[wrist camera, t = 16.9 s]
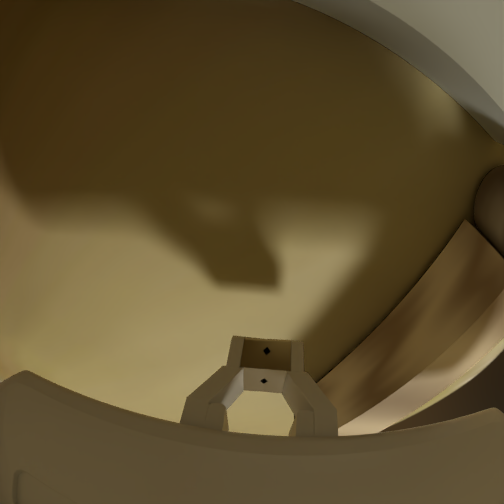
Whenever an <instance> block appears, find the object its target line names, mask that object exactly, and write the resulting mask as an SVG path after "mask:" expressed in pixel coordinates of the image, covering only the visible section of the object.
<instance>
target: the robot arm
mask: <svg viewBox="0 0 504 504" xmlns="http://www.w3.org/2000/svg"><path fill="white" fill-rule="evenodd" d="M243 390H248V391H263V392H274V393H282V395H283V396H284V398H285V400H286V402H287V403H288V405H289V407H290V408H291V410H292V412H293V413H294V415H295V419H294V421H293V424H292V426H291V429H290V431H289V436H272V435H258V434H247V433H238V432H229V426H228V419H227V411H226V410H227V409H228V408H229V407H230V406H231V405H232V404H233V403H234V401H235V400H236V399H237V398H238V397H239V396H240V395H241V393H242V392H243ZM0 504H504V414H503V413H502V412H501V411H500V410H498V409H497V408H490V409H487V410H483V411H480V412H477V413H474V414H471V415H467V416H464V417H460V418H456V419H452V420H448V421H444V422H440V423H435V424H431V425H426V426H421V427H415V428H410V429H404V430H397V431H390V432H382V433H373V434H362V435H348V436H338V421H337V409H336V408H335V407H334V406H333V404H332V403H331V402H330V400H329V399H328V398H327V397H326V395H325V394H324V393H323V392H322V390H321V389H320V388H319V386H318V385H317V384H316V383H315V381H314V380H313V379H312V377H311V376H310V375H309V374H308V372H304V347H303V341H294V340H279V339H260V338H251V337H242V336H233V337H232V340H231V345H230V350H229V355H228V360H227V365H226V366H222V367H221V368H220V369H219V370H218V371H216V372H215V373H214V374H213V375H212V376H211V377H210V378H209V379H207V380H206V381H205V382H204V383H203V384H202V385H201V386H199V387H198V388H197V389H196V390H195V391H194V392H193V393H191V394H190V395H189V396H188V397H187V399H186V402H185V406H184V409H183V413H182V417H181V420H180V423H176V422H172V421H167V420H163V419H159V418H155V417H151V416H147V415H143V414H139V413H136V412H132V411H129V410H126V409H122V408H119V407H116V406H113V405H110V404H107V403H104V402H101V401H98V400H95V399H93V398H90V397H87V396H85V395H82V394H79V393H77V392H74V391H72V390H69V389H67V388H65V387H62V386H60V385H58V384H56V383H53V382H51V381H49V380H47V379H45V378H43V377H41V376H39V375H37V374H35V373H33V372H30V371H27V370H24V371H21V372H19V373H17V374H15V375H13V376H11V377H9V378H7V379H6V380H4V381H3V382H1V384H0Z"/></svg>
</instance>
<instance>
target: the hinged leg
mask: <svg viewBox="0 0 504 504" xmlns="http://www.w3.org/2000/svg"><path fill="white" fill-rule="evenodd" d="M474 219H475V223H476V226H477V228H478V230H479V231H480V232H481V233H480V232H479V231H478V230H477V229H476V228H475V227H474V226H473V225H471V224H470V223H469V222H468V221H467V220H466V219H465V220H464V221H463V223H462V224H461V226H460V227H459V228H458V230H457V231H456V233H455V234H454V236H453V237H452V238H451V240H450V241H449V243H448V244H447V245H446V247H445V248H444V249H443V251H442V252H441V253H440V255H439V256H438V257H437V259H436V260H435V261H434V263H433V264H432V265H431V266H430V268H429V269H428V270H427V271H426V273H425V274H424V275H423V276H422V278H421V279H420V280H419V281H418V282H417V284H416V285H415V286H414V287H413V288H412V290H411V291H410V292H409V293H408V294H407V295H406V297H405V298H404V299H403V300H402V301H401V302H400V303H399V304H398V306H397V307H396V308H395V309H394V310H393V311H392V312H391V313H390V314H389V315H388V316H387V317H386V319H385V320H384V321H383V322H382V323H381V324H380V325H379V326H378V327H377V328H376V329H375V330H374V331H373V332H372V333H371V334H370V335H369V336H368V337H367V338H366V339H365V340H364V341H363V342H362V343H361V344H360V345H359V346H358V347H357V348H356V349H355V350H354V351H352V352H351V353H350V354H349V355H348V356H347V357H346V358H345V359H344V360H343V361H342V362H341V363H339V364H338V365H337V366H336V367H335V368H334V369H333V370H332V371H330V372H329V373H328V374H327V375H326V376H325V377H324V378H322V379H321V380H320V381H319V382H318V383H316V384H317V385H318V386H319V388H320V389H321V390H322V392H323V393H324V394H325V395H326V397H327V398H328V399H329V400H330V402H331V403H332V404H333V406H334V407H335V408H336V409H337V421H338V436H348V435H362V434H373V433H378V432H380V431H382V430H383V429H385V428H387V427H389V426H390V425H392V424H394V423H396V422H397V421H399V420H400V419H402V418H404V417H405V416H407V415H409V414H410V413H412V412H413V411H415V410H416V409H418V408H419V407H421V406H422V405H424V404H425V403H427V402H428V401H430V400H431V399H432V398H434V397H435V396H437V395H438V394H439V393H441V392H442V391H443V390H445V389H446V388H447V387H449V386H450V385H451V384H452V383H454V382H455V381H456V380H457V379H459V378H460V377H461V376H462V375H464V374H465V373H466V372H467V371H468V370H470V369H471V368H472V367H473V366H474V365H475V364H476V363H478V362H479V361H480V360H481V359H482V358H483V357H484V356H485V355H486V354H487V353H488V352H489V351H491V350H492V349H493V348H494V347H495V346H496V345H497V344H498V343H499V342H500V341H501V340H502V339H503V338H504V165H502V166H498V167H496V168H494V169H493V170H492V171H490V172H489V173H488V174H487V176H486V177H485V178H484V180H483V181H482V183H481V185H480V187H479V189H478V192H477V195H476V199H475V204H474ZM294 419H295V415H294Z"/></svg>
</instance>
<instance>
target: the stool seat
mask: <svg viewBox="0 0 504 504" xmlns="http://www.w3.org/2000/svg"><path fill="white" fill-rule="evenodd" d="M293 1H295V2H298V3H300V4H303V5H305V6H308V7H310V8H312V9H315V10H317V11H319V12H322V13H324V14H326V15H328V16H330V17H332V18H334V19H336V20H339V21H341V22H343V23H344V24H346V25H348V26H350V27H352V28H354V29H356V30H358V31H359V32H361V33H363V34H365V35H367V36H368V37H370V38H372V39H373V40H375V41H377V42H378V43H380V44H382V45H383V46H385V47H386V48H388V49H389V50H391V51H392V52H394V53H395V54H397V55H398V56H400V57H401V58H403V59H404V60H406V61H407V62H408V63H410V64H411V65H413V66H414V67H415V68H417V69H418V70H419V71H421V72H422V73H423V74H425V75H426V76H427V77H428V78H430V79H431V80H432V81H433V82H435V83H436V84H437V85H438V86H439V87H441V88H442V89H443V90H444V91H445V92H446V93H448V94H449V95H450V96H451V97H452V98H453V99H454V100H455V101H456V102H458V103H459V104H460V105H461V106H462V107H463V108H464V109H465V110H466V111H467V112H468V113H469V114H470V115H471V116H472V117H473V118H474V119H475V120H476V121H477V122H478V123H479V124H480V125H481V126H482V127H483V128H484V129H485V131H486V132H487V133H488V134H489V135H490V136H491V137H492V138H493V139H494V141H496V142H498V143H500V144H503V145H504V0H293Z"/></svg>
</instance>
